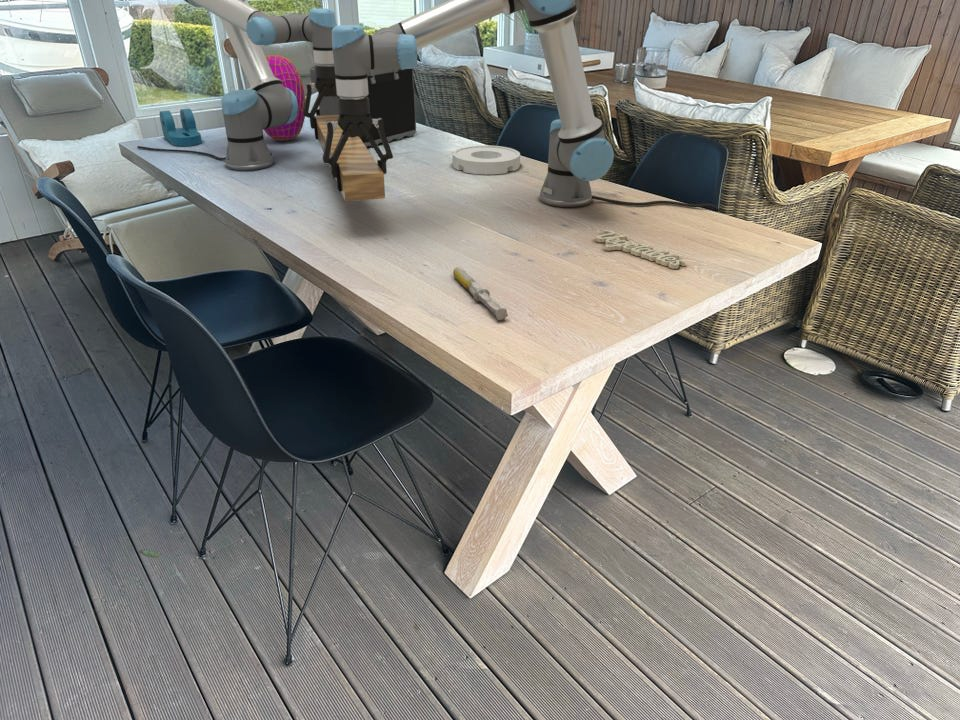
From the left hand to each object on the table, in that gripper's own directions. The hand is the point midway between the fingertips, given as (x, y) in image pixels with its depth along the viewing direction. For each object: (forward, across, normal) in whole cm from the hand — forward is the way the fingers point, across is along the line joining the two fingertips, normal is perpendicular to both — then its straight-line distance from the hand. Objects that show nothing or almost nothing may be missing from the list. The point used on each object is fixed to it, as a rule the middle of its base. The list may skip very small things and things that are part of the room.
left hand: (333, 137), depth 225 cm
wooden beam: (0, 0, +30) cm, 30 cm away
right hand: (-1, 0, +59) cm, 59 cm away
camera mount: (+11, +51, -54) cm, 75 cm away
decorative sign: (+9, -61, +94) cm, 113 cm away
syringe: (+9, -17, +109) cm, 110 cm away
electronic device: (+11, -17, -40) cm, 45 cm away
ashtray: (+10, -50, +8) cm, 52 cm away
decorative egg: (+11, +14, -47) cm, 50 cm away
